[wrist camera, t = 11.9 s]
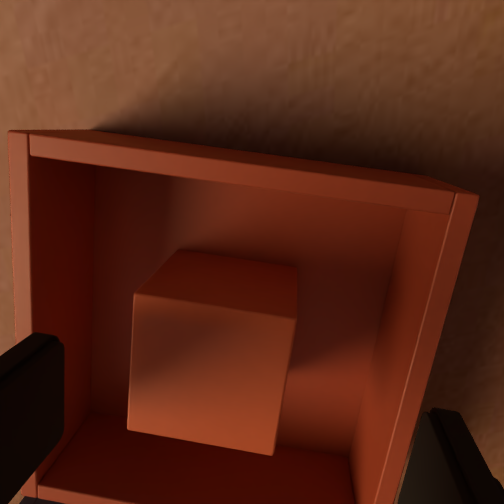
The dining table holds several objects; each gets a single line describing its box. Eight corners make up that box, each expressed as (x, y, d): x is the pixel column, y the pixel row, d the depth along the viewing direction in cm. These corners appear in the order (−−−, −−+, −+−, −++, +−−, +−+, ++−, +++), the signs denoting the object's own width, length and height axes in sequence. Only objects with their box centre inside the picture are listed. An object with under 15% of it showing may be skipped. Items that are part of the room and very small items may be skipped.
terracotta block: (297, 266, 16) (297, 319, 11) (279, 374, 17) (273, 457, 13) (177, 248, 16) (132, 292, 12) (169, 355, 17) (125, 430, 13)
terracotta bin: (428, 175, 15) (481, 195, 10) (358, 462, 18) (377, 564, 14) (86, 129, 16) (6, 129, 11) (83, 412, 19) (20, 495, 15)
